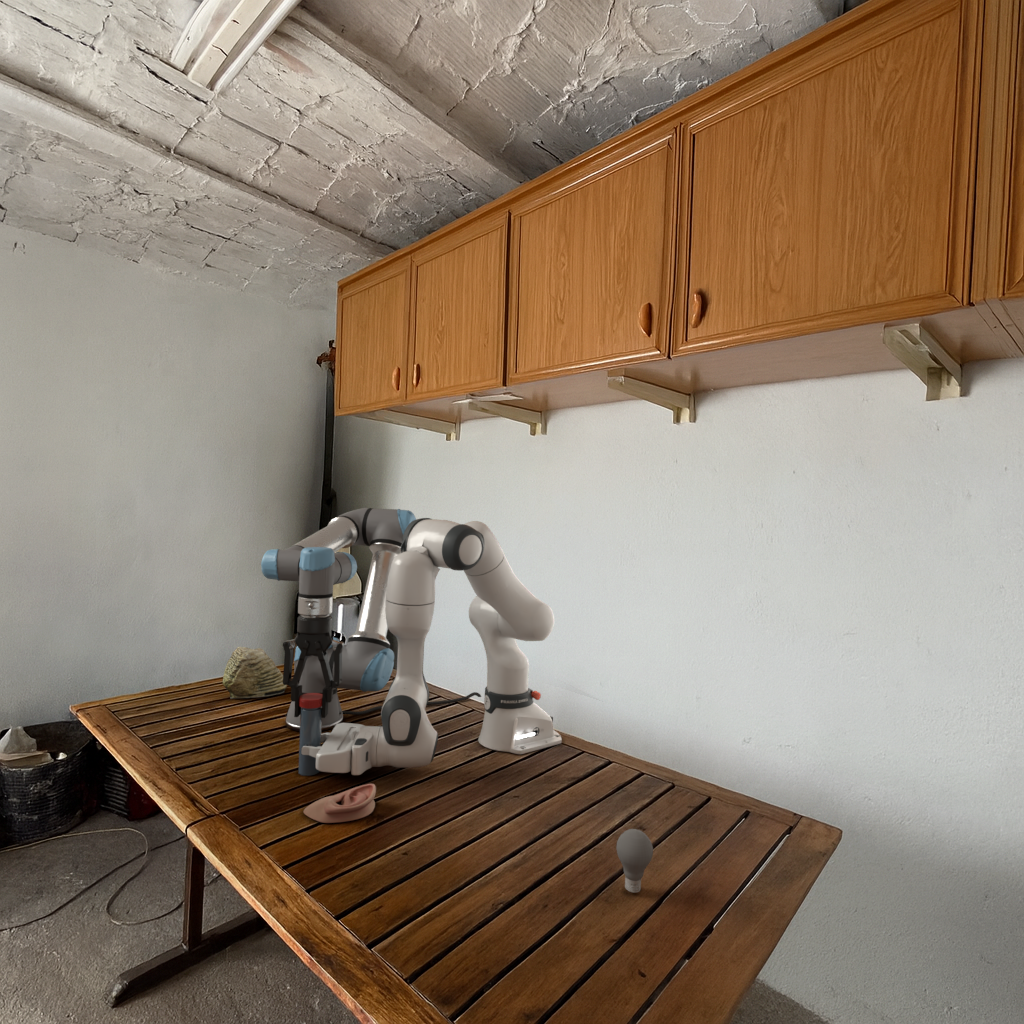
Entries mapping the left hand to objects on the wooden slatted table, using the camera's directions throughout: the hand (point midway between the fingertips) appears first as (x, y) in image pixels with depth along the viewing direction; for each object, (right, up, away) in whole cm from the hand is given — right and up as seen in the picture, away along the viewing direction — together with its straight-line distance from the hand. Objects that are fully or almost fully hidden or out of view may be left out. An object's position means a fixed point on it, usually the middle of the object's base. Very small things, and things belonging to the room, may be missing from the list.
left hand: (311, 715), depth 145 cm
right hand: (-1, -7, 0) cm, 7 cm away
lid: (0, +4, 0) cm, 4 cm away
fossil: (-34, -11, +53) cm, 64 cm away
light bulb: (+66, -17, -40) cm, 79 cm away
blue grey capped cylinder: (-1, -13, 0) cm, 13 cm away
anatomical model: (+11, -14, -17) cm, 25 cm away
